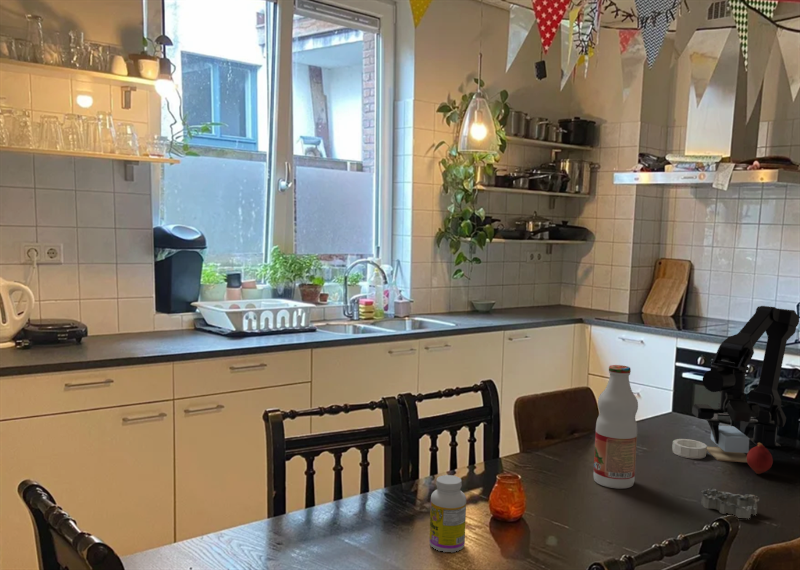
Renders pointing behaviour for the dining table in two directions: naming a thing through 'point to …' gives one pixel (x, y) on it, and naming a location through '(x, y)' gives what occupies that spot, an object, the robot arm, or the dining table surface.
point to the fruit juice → (616, 432)
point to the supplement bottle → (447, 515)
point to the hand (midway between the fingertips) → (728, 444)
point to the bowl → (689, 448)
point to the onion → (759, 459)
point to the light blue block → (732, 440)
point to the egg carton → (730, 502)
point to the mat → (726, 455)
